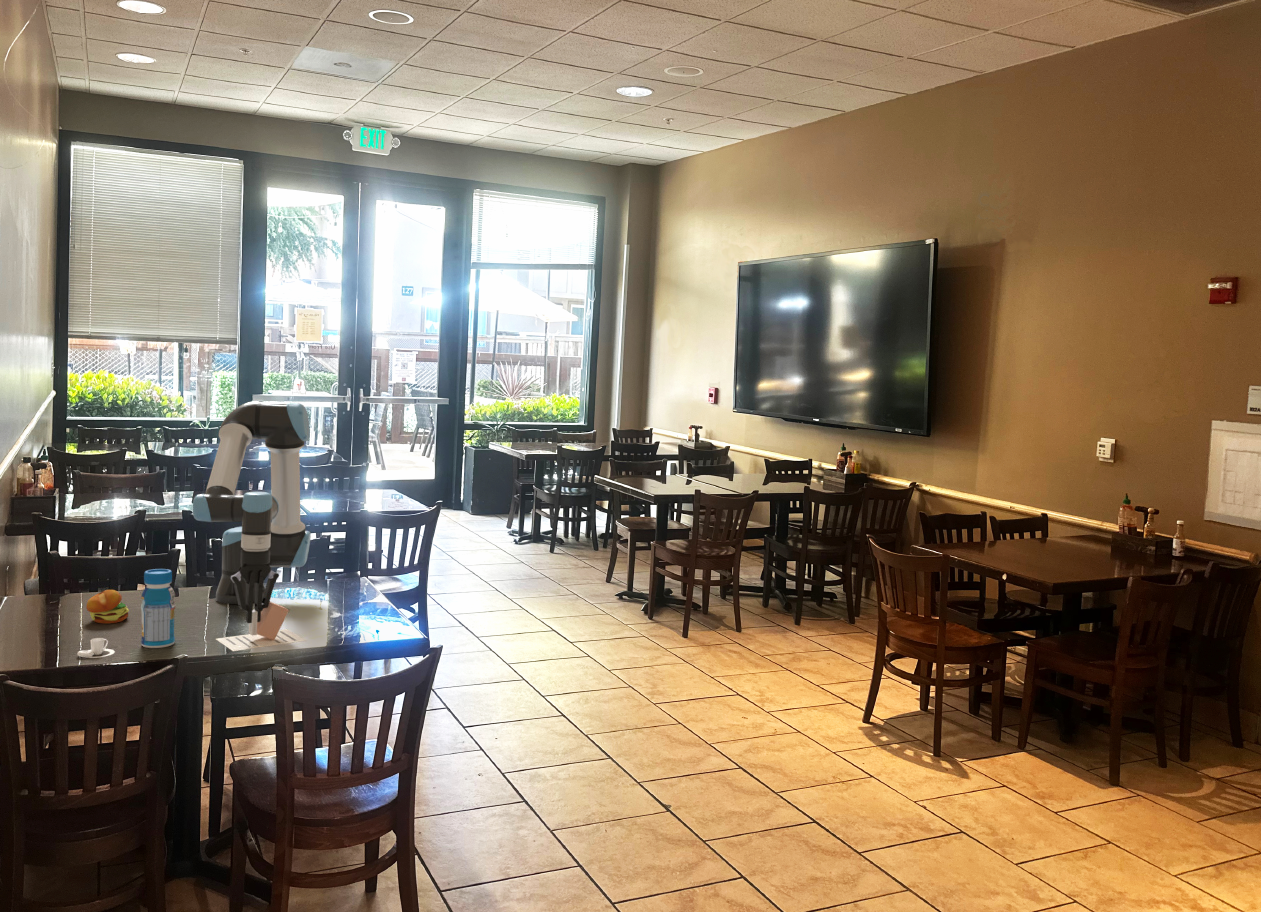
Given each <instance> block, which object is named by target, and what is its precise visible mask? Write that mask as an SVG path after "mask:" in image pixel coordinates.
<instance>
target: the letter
mask: <svg viewBox="0 0 1261 912" xmlns="http://www.w3.org/2000/svg"><path fill="white" fill-rule="evenodd" d="M215 640H216V641H217V642H219V643H220V644H222V645H223V646H225V647H226V648H228V649H229V650H230V651H232V652H237V651H245V650H251V649H258V648H264V647H271V646H279V645H285V644H291V643H292V644H293V643H298V642H300V643H301V642H307V639H305V638H303V637H301V636H300V635H298V634H296V633H294V631H293V632H292V631H291V630H289V629H287V628H286V629H285V628H284V629H280V630H279V632H278V634H277V636H276V638H275V640H272V639H269V638H266V637H263V636H261V635H258V634H257V635H250V634H249V633H248V634H247V633H246V634H240V635H235V636H226V637H218V638H215Z"/></svg>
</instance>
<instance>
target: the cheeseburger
mask: <svg viewBox="0 0 1261 912" xmlns="http://www.w3.org/2000/svg"><path fill="white" fill-rule="evenodd" d="M122 598H123V597H122V594H120V592H119V591H117V590H115V589H106V590H103V591H101V592H99V593H97V594H94V595H93V596H91V597H90V598H89V599H88V600H87V602H86V610H87V611H88V612H89V615H90V618H91V620H92V621H93V622H95V623H98V624H109V625H110V624H117V623H121V622H123V621H124V620H126V619H127V618H128V617H129V611H130V610H129V608H128V604H125V603H123V602H121V601H122Z"/></svg>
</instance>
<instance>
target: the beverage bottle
mask: <svg viewBox="0 0 1261 912" xmlns="http://www.w3.org/2000/svg"><path fill="white" fill-rule="evenodd" d="M143 582H144V584H145V585H146V586H145V588H144V589H143V591H142V593H141V597H140V599H141V601H142V602H141V604H140V611H141V640H140V644H141V646H143V648H149V649H163V648H167V647H170V646H172V645H175V641H176V639H175V638H176V637H175V609H176V602H175V601H174V600H175V597H176V593H175V591H174V589H173V587H172V586H171V585H170V584H172V582H173V572H172V570H171V569H168V568H167V569H166V568H155V569H154V568H153V569H148V570H145V571H144V573H143Z"/></svg>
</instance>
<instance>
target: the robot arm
mask: <svg viewBox="0 0 1261 912" xmlns="http://www.w3.org/2000/svg"><path fill="white" fill-rule="evenodd" d="M310 433H311V432H310V420H309V415H308V411H307V409H306V407H305V406H304V405H303V404H302V403H299V402H298V403H296V402H291V401H288V402H287V401H285V402H284V401H258V400H257V401H248V402H245V403H243V404H241V405H239V406H237V407H236V408H234V409H233V410H232V411H231V412H230V413H228V414H227V416H226V417H225V418H224V419H223V421H222V423H221V424H220V428H219V431H218V438H219V439H220V441H219V444H218V448H217V451H216V454H215V458H214V462H213V465H212V468H211V472H210V476H209V479H208V483H207V485H206V490H205V493H201V494H196V495H195V496H194V498H193V501H192V515H193V518H194V519H195V520H196V521H199V522H208V523H213V522H216V523H217V522H218V523H219V522H220V523H221V522H223V523H225V522H226V523H227V522H230V523H231V522H233V523H241V526H236V527H234V528H233V527H232V528H229V529H227V530H225V531H224V532H223V533H222V542H221V577H220V581H219V583H218V586H217V589H216V591H215V601H216V602H219V603H222V604H228V605H229V604H230V605H238V608H239V609H241V610H242V611H245V623H247V624H248V634H250V635H257V622H260V620H261V611H262V610H263V609H264V608H267V607H268V605H269V602H271V597H272V594H273V591H274V587H275V585H276V584H275V583H276V581H277V580H278V579H279V577H280V574H279V573H277V572H276V571H273V570H272V568H290V569H291V568H301V567H302V568H303V566H305V564H306V563H307V560H308V556H309V550H310V545H311V537H312V536H311V534H312V533H311V531H309V530H306V524H305V523H304V522H302V521H301V481H300V480H301V477H300V475H301V473H300V469H301V468H300V466H301V465H300V451H301V449H302V448H303V447H304V446H305V442H306V441H308V440H309V439H310ZM252 440H264V442H265V443H264V446H265V448H266V449H268V450H269V451H270V483H271V485H270V487H271V492H270V493H269V492H265V491H250V492H249V491H248V492H245V493H244V494H243V495H242V494H235V492H236V488H237V486H238V485H237V484H238V481H239V478H240V472H241V469H242V466H243V461H244V458H245V453H246V450H247V447H248V446H249V445H250V444H251V443H252ZM267 577H268V578H267ZM266 578H267V581H266V585H265V583H264V581H265V580H266Z"/></svg>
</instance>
